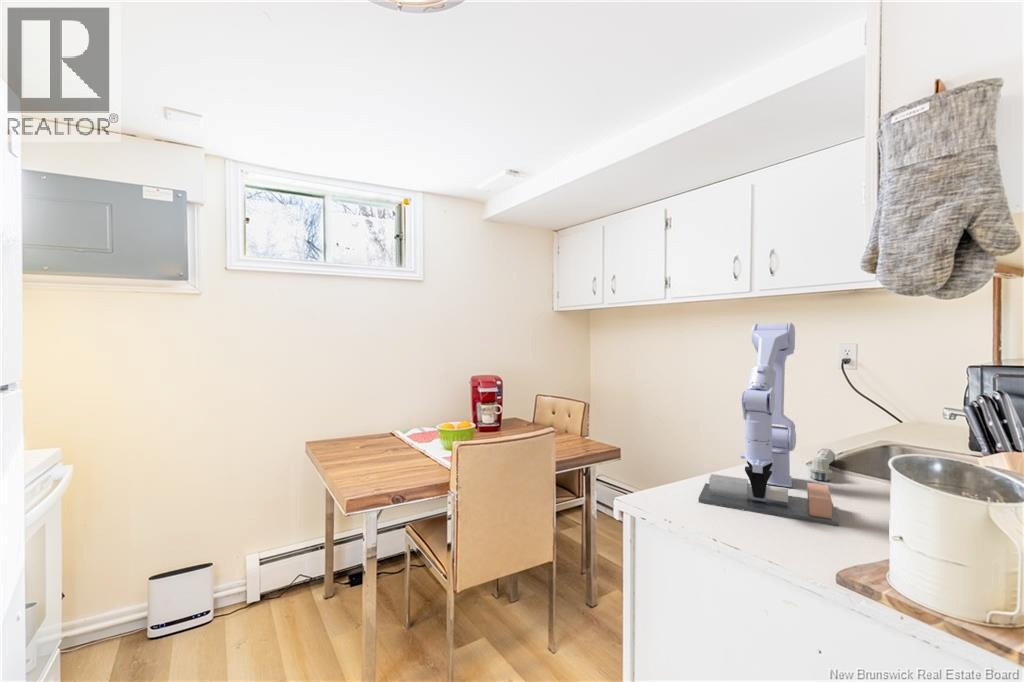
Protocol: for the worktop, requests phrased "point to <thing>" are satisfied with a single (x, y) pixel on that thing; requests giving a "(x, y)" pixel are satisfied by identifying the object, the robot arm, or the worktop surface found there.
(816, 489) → the socket block
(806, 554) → the worktop surface
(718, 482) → the sleeve base
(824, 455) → the handheld shower head
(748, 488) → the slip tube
